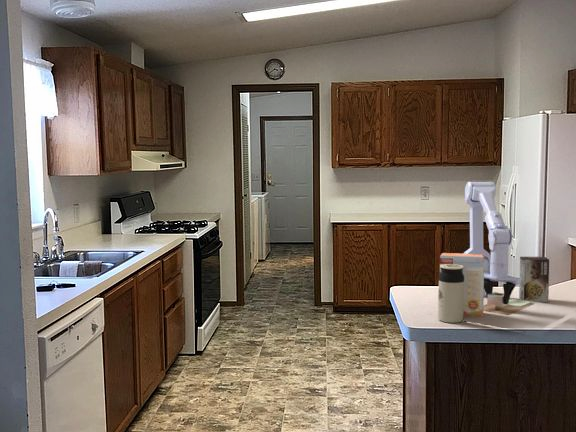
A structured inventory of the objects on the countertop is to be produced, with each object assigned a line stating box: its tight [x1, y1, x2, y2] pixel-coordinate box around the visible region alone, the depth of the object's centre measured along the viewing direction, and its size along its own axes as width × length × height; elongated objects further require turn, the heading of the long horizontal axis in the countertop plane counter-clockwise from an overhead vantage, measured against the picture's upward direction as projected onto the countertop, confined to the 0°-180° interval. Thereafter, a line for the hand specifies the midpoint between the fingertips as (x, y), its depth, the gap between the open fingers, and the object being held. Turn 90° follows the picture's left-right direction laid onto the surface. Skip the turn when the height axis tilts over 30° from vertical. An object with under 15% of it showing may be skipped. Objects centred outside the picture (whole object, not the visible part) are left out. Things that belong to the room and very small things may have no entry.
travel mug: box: [437, 264, 464, 324], centre depth 201 cm, size 8×8×18 cm
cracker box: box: [439, 252, 485, 318], centre depth 207 cm, size 14×6×21 cm, turn 69°
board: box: [483, 298, 535, 316], centre depth 217 cm, size 12×22×6 cm, turn 137°
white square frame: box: [486, 291, 508, 307], centre depth 212 cm, size 5×5×4 cm
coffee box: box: [518, 256, 550, 303], centre depth 229 cm, size 9×6×16 cm
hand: (497, 302), depth 212 cm, fingers closed on white square frame, 5 cm apart
